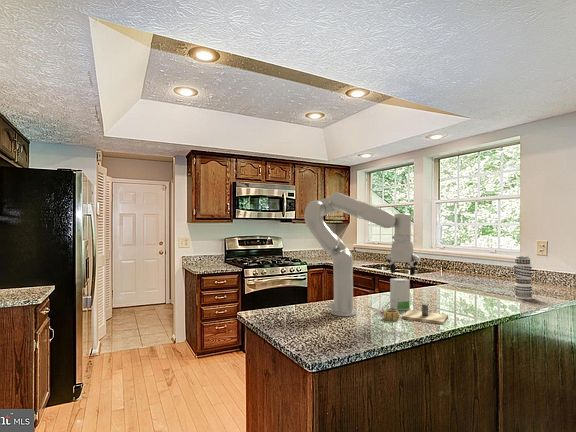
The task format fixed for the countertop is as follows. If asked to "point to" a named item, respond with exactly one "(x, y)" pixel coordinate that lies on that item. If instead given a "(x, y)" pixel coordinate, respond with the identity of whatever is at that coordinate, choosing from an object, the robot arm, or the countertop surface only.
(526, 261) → the decorative candle
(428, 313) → the beige flat block
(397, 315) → the ring
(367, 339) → the countertop surface
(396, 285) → the skincare box
